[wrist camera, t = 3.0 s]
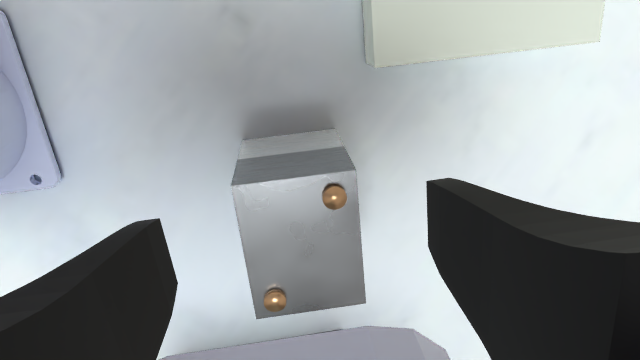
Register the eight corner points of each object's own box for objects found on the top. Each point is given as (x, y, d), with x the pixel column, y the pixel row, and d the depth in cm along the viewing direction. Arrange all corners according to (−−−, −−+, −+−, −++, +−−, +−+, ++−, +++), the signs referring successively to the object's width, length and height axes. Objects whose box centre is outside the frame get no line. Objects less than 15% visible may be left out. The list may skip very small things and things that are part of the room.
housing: (260, 245, 24) (255, 324, 18) (242, 139, 22) (229, 189, 16) (344, 234, 24) (367, 307, 18) (335, 128, 22) (357, 173, 16)
